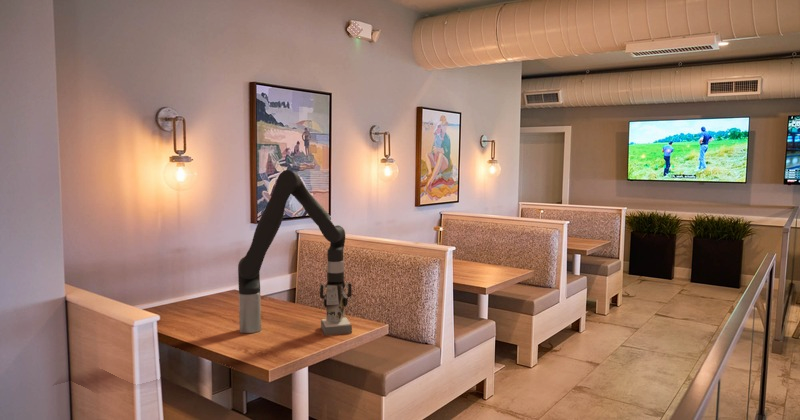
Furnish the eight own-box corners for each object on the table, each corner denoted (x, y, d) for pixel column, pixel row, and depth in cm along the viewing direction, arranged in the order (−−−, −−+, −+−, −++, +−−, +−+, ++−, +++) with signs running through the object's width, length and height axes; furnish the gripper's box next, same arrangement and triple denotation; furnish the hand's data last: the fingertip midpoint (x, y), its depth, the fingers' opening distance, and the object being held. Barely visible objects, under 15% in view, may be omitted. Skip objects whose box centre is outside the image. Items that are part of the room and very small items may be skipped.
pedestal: (324, 335, 244) (324, 326, 244) (321, 327, 256) (320, 319, 256) (351, 333, 248) (351, 324, 247) (347, 325, 259) (346, 317, 259)
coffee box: (340, 321, 246) (340, 285, 245) (326, 321, 247) (325, 284, 246) (345, 316, 255) (345, 281, 254) (331, 315, 256) (331, 280, 255)
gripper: (320, 273, 244) (320, 310, 245) (352, 271, 248) (353, 307, 249) (318, 270, 251) (318, 305, 253) (349, 268, 255) (349, 303, 256)
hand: (335, 306), depth 251 cm, fingers closed on coffee box, 8 cm apart
